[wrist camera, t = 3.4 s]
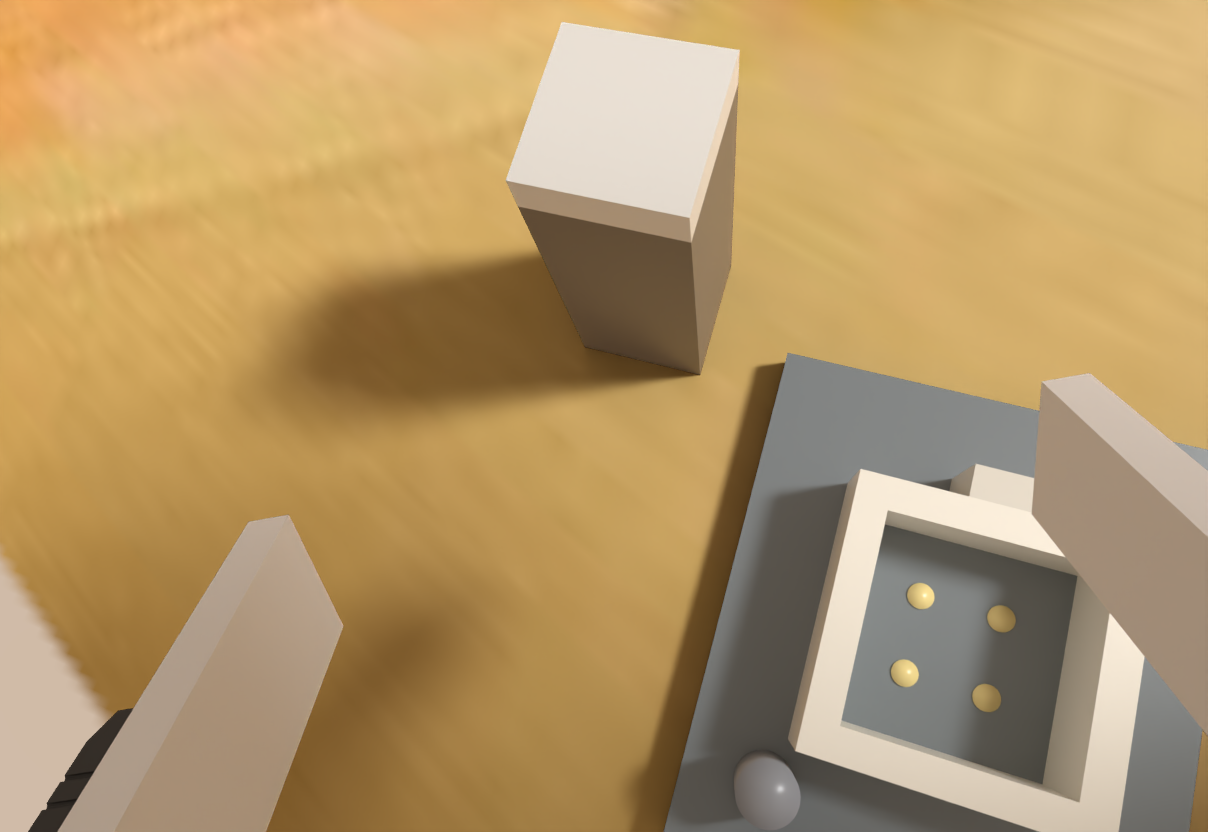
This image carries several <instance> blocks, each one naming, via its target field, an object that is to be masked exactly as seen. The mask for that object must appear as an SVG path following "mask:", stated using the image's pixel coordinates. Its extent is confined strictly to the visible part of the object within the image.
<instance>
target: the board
mask: <svg viewBox="0 0 1208 832" xmlns="http://www.w3.org/2000/svg"><path fill="white" fill-rule="evenodd" d="M1038 423H1039V411H1037V410H1033V409H1029V408H1024V407H1020V406H1016V405H1011V404H1007V403H1003V402H998V401H994V400H990V399H985V398H981V397H977V396H972V395H968V394H964V393H960V392H955V391H951V390H947V389H942V388H938V387H934V386H929V385H925V384H921V383H916V382H912V381H908V380H903V379H899V378H895V377H890V376H886V375H882V374H877V373H873V372H869V371H864V370H860V369H856V368H852V367H847V366H843V365H839V364H834V363H830V362H826V361H821V360H817V359H813V358H808V357H804V356H800V355H795V354H791V353H788V354H787V358H786V362H785V366H784V370H783V373H782V377H781V381H780V385H779V389H778V393H777V397H776V400H775V404H774V408H773V412H772V416H771V420H770V424H769V427H768V431H767V435H766V439H765V443H764V447H763V451H762V454H761V458H760V462H759V466H758V470H757V474H756V478H755V481H754V485H753V489H752V493H751V497H750V501H749V505H748V508H747V512H746V516H745V520H744V524H743V528H742V532H741V535H740V539H739V543H738V547H737V551H736V555H735V559H734V562H733V566H732V570H731V574H730V578H729V582H728V586H727V589H726V593H725V597H724V601H723V605H722V609H721V613H720V616H719V620H718V624H717V628H716V632H715V636H714V640H713V643H712V647H711V651H710V655H709V659H708V663H707V667H706V670H705V674H704V678H703V682H702V686H701V690H700V694H699V697H698V701H697V705H696V709H695V713H694V717H693V721H692V724H691V728H690V732H689V736H688V740H687V744H686V748H685V751H684V755H683V759H682V763H681V767H680V771H679V775H678V778H677V782H676V786H675V790H674V794H673V798H672V802H671V805H670V809H669V813H668V817H667V821H666V825H665V829H664V832H1189V829H1190V821H1191V814H1192V806H1193V798H1194V791H1195V783H1196V775H1197V768H1198V760H1199V752H1200V745H1201V737H1202V728H1201V727H1200V726H1199V724H1198V723H1197V722H1196V721H1195V719H1194V718H1193V717H1192V716H1191V714H1190V713H1189V712H1188V711H1187V709H1186V708H1185V707H1184V706H1183V704H1182V703H1181V702H1180V701H1179V699H1178V698H1177V697H1176V695H1175V694H1174V693H1173V692H1172V690H1171V689H1170V688H1169V687H1168V685H1167V684H1166V683H1165V682H1164V680H1163V679H1162V678H1161V677H1160V675H1159V674H1158V673H1157V672H1156V670H1155V669H1154V668H1153V667H1152V665H1151V664H1150V663H1149V661H1148V660H1147V659H1146V658H1145V656H1144V655H1143V654H1142V653H1141V651H1140V650H1139V649H1138V648H1137V646H1136V645H1135V644H1134V643H1133V641H1132V640H1131V639H1130V638H1129V636H1128V635H1127V634H1126V632H1125V631H1124V630H1123V629H1122V627H1121V626H1120V625H1119V624H1118V622H1117V621H1116V620H1115V619H1114V617H1113V616H1112V615H1111V614H1110V612H1109V611H1108V610H1107V609H1106V607H1105V606H1104V605H1103V604H1102V602H1101V601H1100V600H1099V598H1098V597H1097V596H1096V595H1095V593H1094V592H1093V591H1092V590H1091V588H1090V587H1089V586H1088V585H1087V583H1086V582H1085V581H1084V580H1083V578H1082V577H1081V576H1080V575H1079V573H1078V572H1077V571H1076V570H1075V568H1074V567H1073V566H1072V564H1071V563H1070V562H1069V561H1068V559H1067V558H1066V557H1065V556H1064V554H1063V553H1062V552H1061V551H1060V549H1059V548H1058V547H1057V546H1056V544H1055V543H1054V542H1053V541H1052V539H1051V538H1050V537H1049V535H1048V534H1047V533H1046V532H1045V530H1044V529H1043V528H1042V527H1041V525H1040V524H1039V523H1038V522H1037V520H1036V519H1035V518H1034V517H1033V515H1032V502H1033V489H1034V476H1035V462H1036V449H1037V436H1038ZM1173 443H1175V444H1176V445H1177V446H1178V447H1180V448H1181V449H1182V450H1183V451H1184V452H1186V453H1187V454H1188V455H1189V456H1190V457H1192V458H1193V459H1194V460H1195V461H1196V462H1198V463H1199V464H1200V465H1201V466H1202V467H1204V468H1205V469H1206V470H1207V471H1208V450H1206V449H1201V448H1197V447H1193V446H1188V445H1184V444H1180V443H1176V442H1173Z"/></svg>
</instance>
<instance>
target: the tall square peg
mask: <svg viewBox="0 0 1208 832" xmlns="http://www.w3.org/2000/svg"><path fill="white" fill-rule="evenodd" d="M738 75H739V50H735V49H729V48H723V47H716V46H710V45H704V44H697V43H691V42H685V41H678V40H672V39H666V38H660V37H653V36H647V35H641V34H634V33H628V32H622V31H615V30H609V29H603V28H596V27H590V26H584V25H577V24H571V23H565V22H562V23H561V26H560V29H559V31H558V34H557V37H556V40H555V43H554V46H553V48H552V51H551V54H550V57H549V60H548V62H547V65H546V68H545V71H544V74H543V77H542V79H541V82H540V85H539V88H538V91H537V94H536V96H535V99H534V102H533V105H532V108H531V110H530V113H529V116H528V119H527V122H526V125H525V127H524V130H523V133H522V136H521V139H520V142H519V144H518V147H517V150H516V153H515V156H514V158H513V161H512V164H511V167H510V170H509V173H508V175H507V178H506V182H507V184H508V186H509V189H510V191H511V193H512V195H513V197H514V199H515V201H516V203H517V205H518V207H519V210H520V212H521V214H522V216H523V218H524V220H525V222H526V224H527V226H528V229H529V231H530V233H531V235H532V237H533V239H534V241H535V243H536V245H537V247H538V250H539V252H540V254H541V256H542V258H543V260H544V262H545V264H546V266H547V268H548V271H549V273H550V275H551V277H552V279H553V281H554V283H555V285H556V287H557V290H558V292H559V294H560V296H561V298H562V300H563V302H564V304H565V306H566V308H567V311H568V313H569V315H570V317H571V319H572V321H573V323H574V325H575V327H576V330H577V332H578V334H579V336H580V338H581V340H582V342H583V344H584V346H585V347H587V348H591V349H596V350H600V351H604V352H608V353H612V354H616V355H620V356H624V357H629V358H633V359H637V360H641V361H645V362H649V363H653V364H657V365H662V366H666V367H670V368H674V369H678V370H682V371H686V372H690V373H695V374H699V375H700V374H701V370H702V367H703V363H704V359H705V356H706V352H707V349H708V345H709V342H710V338H711V335H712V331H713V327H714V324H715V320H716V317H717V313H718V310H719V306H720V303H721V299H722V296H723V292H724V288H725V285H726V281H727V278H728V274H729V271H730V267H731V254H732V229H733V203H734V177H735V152H736V126H737V100H738Z"/></svg>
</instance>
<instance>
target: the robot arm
mask: <svg viewBox="0 0 1208 832" xmlns="http://www.w3.org/2000/svg"><path fill="white" fill-rule="evenodd" d="M1032 515H1033V517H1034V518H1035V519H1036V520H1037V522H1038V523H1039V524H1040V525H1041V527H1042V528H1043V529H1044V530H1045V532H1046V533H1047V534H1048V535H1049V537H1050V538H1051V539H1052V541H1053V542H1054V543H1055V544H1056V546H1057V547H1058V548H1059V549H1060V551H1061V552H1062V553H1063V554H1064V556H1065V557H1066V558H1067V559H1068V561H1069V562H1070V563H1071V564H1072V566H1073V567H1074V568H1075V570H1076V571H1077V572H1078V573H1079V575H1080V576H1081V577H1082V578H1083V580H1084V581H1085V582H1086V583H1087V585H1088V586H1089V587H1090V588H1091V590H1092V591H1093V592H1094V593H1095V595H1096V596H1097V597H1098V598H1099V600H1100V601H1101V602H1102V604H1103V605H1104V606H1105V607H1106V609H1107V610H1108V611H1109V612H1110V614H1111V615H1112V616H1113V617H1114V619H1115V620H1116V621H1117V622H1118V624H1119V625H1120V626H1121V627H1122V629H1123V630H1124V631H1125V632H1126V634H1127V635H1128V636H1129V638H1130V639H1131V640H1132V641H1133V643H1134V644H1135V645H1136V646H1137V648H1138V649H1139V650H1140V651H1141V653H1142V654H1143V655H1144V656H1145V658H1146V659H1147V660H1148V661H1149V663H1150V664H1151V665H1152V667H1153V668H1154V669H1155V670H1156V672H1157V673H1158V674H1159V675H1160V677H1161V678H1162V679H1163V680H1164V682H1165V683H1166V684H1167V685H1168V687H1169V688H1170V689H1171V690H1172V692H1173V693H1174V694H1175V695H1176V697H1177V698H1178V699H1179V701H1180V702H1181V703H1182V704H1183V706H1184V707H1185V708H1186V709H1187V711H1188V712H1189V713H1190V714H1191V716H1192V717H1193V718H1194V719H1195V721H1196V722H1197V723H1198V724H1199V726H1200V727H1201V728H1202V730H1203V731H1204V732H1205V733H1206V735H1207V736H1208V471H1207V470H1206V469H1205V468H1204V467H1202V466H1201V465H1200V464H1199V463H1198V462H1196V461H1195V460H1194V459H1193V458H1192V457H1190V456H1189V455H1188V454H1187V453H1186V452H1184V451H1183V450H1182V449H1181V448H1180V447H1178V446H1177V445H1176V444H1175V443H1173V442H1172V441H1171V440H1170V439H1169V438H1167V437H1166V436H1165V435H1164V434H1163V433H1161V432H1160V431H1159V430H1158V429H1157V428H1155V427H1154V426H1153V425H1152V424H1151V423H1149V422H1148V421H1147V420H1146V419H1144V418H1143V417H1142V416H1141V415H1140V414H1138V413H1137V412H1136V411H1135V410H1134V409H1132V408H1131V407H1130V406H1129V405H1128V404H1126V403H1125V402H1124V401H1123V400H1122V399H1120V398H1119V397H1118V396H1117V395H1116V394H1114V393H1113V392H1112V391H1111V390H1109V389H1108V388H1107V387H1106V386H1105V385H1103V384H1102V383H1101V382H1100V381H1099V380H1097V379H1096V378H1095V377H1094V376H1093V375H1091V374H1090V373H1087V374H1082V375H1076V376H1070V377H1065V378H1059V379H1054V380H1048V381H1042V384H1041V397H1040V410H1039V423H1038V436H1037V449H1036V462H1035V476H1034V489H1033V502H1032ZM342 629H343V624H342V622H341V620H340V618H339V616H338V614H337V612H336V610H335V608H334V606H333V604H332V602H331V600H330V598H329V596H328V593H327V591H326V589H325V587H324V585H323V583H322V581H321V579H320V577H319V575H318V573H317V571H316V569H315V567H314V565H313V563H312V561H311V559H310V557H309V555H308V553H307V551H306V549H305V547H304V545H303V543H302V540H301V538H300V536H299V534H298V532H297V530H296V528H295V526H294V524H293V522H292V520H291V518H290V516H289V515H284V516H278V517H273V518H267V519H261V520H256V521H250V522H248V524H247V525H246V527H245V528H244V530H243V532H242V533H241V535H240V537H239V538H238V540H237V541H236V543H235V545H234V546H233V548H232V549H231V551H230V553H229V554H228V556H227V558H226V559H225V561H224V562H223V564H222V566H221V567H220V569H219V571H218V572H217V574H216V575H215V577H214V579H213V580H212V582H211V584H210V585H209V587H208V588H207V590H206V592H205V593H204V595H203V597H202V598H201V600H200V601H199V603H198V605H197V606H196V608H195V610H194V611H193V613H192V614H191V616H190V618H189V619H188V621H187V622H186V624H185V626H184V627H183V629H182V631H181V632H180V634H179V635H178V637H177V639H176V640H175V642H174V644H173V645H172V647H171V648H170V650H169V652H168V653H167V655H166V657H165V658H164V660H163V661H162V663H161V665H160V666H159V668H158V670H157V671H156V673H155V674H154V676H153V678H152V679H151V681H150V682H149V684H148V686H147V687H146V689H145V691H144V692H143V694H142V695H141V697H140V699H139V700H138V702H137V704H136V705H135V707H134V708H132V709H126V710H119V711H117V712H116V713H115V714H114V715H113V716H112V717H111V718H110V719H109V720H108V721H107V722H106V723H105V724H104V725H103V726H102V727H101V728H100V729H99V730H98V731H97V732H96V733H95V734H94V735H93V736H92V737H91V738H90V739H89V740H88V741H87V742H86V744H85V745H84V747H83V748H82V750H81V751H80V753H79V754H78V756H77V757H76V759H75V760H74V762H73V763H72V765H71V767H70V768H69V770H68V771H67V773H66V774H65V781H64V782H60V783H59V785H58V787H57V788H56V790H55V791H54V793H53V794H52V796H51V797H50V799H49V800H48V802H47V809H46V810H42V811H41V813H40V814H39V816H38V817H37V819H36V820H35V822H34V823H33V825H32V827H31V828H30V830H29V831H28V832H266V831H267V828H268V825H269V823H270V820H271V817H272V815H273V812H274V809H275V807H276V804H277V801H278V799H279V796H280V793H281V791H282V788H283V786H284V783H285V780H286V778H287V775H288V772H289V770H290V767H291V764H292V762H293V759H294V756H295V754H296V751H297V748H298V746H299V743H300V740H301V738H302V735H303V732H304V730H305V727H306V724H307V722H308V719H309V716H310V714H311V711H312V709H313V706H314V703H315V701H316V698H317V695H318V693H319V690H320V687H321V685H322V682H323V679H324V677H325V674H326V671H327V669H328V666H329V663H330V661H331V658H332V655H333V653H334V650H335V647H336V645H337V642H338V639H339V637H340V634H341V632H342Z"/></svg>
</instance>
